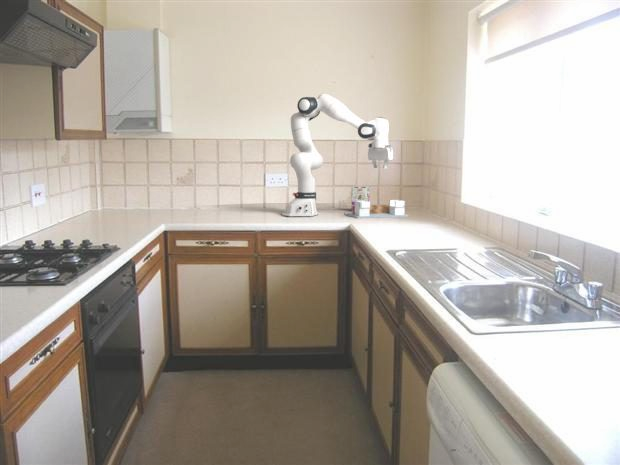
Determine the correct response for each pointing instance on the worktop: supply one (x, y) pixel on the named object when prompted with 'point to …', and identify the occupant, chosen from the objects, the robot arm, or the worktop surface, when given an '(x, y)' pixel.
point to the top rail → (377, 209)
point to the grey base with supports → (364, 208)
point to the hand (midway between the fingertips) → (379, 168)
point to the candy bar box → (360, 194)
